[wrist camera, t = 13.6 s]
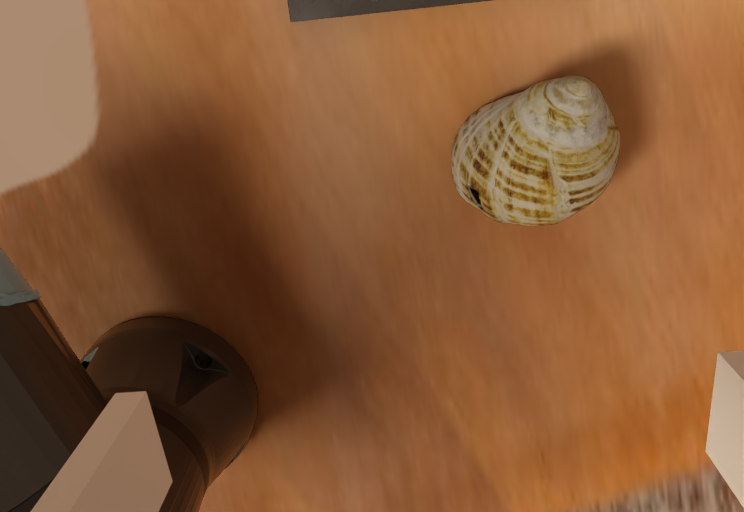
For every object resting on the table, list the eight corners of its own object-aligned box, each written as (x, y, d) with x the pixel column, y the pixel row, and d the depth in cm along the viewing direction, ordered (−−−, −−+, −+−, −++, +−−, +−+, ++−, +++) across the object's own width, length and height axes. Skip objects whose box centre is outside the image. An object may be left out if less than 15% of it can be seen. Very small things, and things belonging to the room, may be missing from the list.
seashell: (431, 211, 45) (456, 185, 35) (467, 87, 46) (500, 27, 36) (565, 250, 45) (626, 235, 35) (597, 125, 46) (666, 76, 36)
